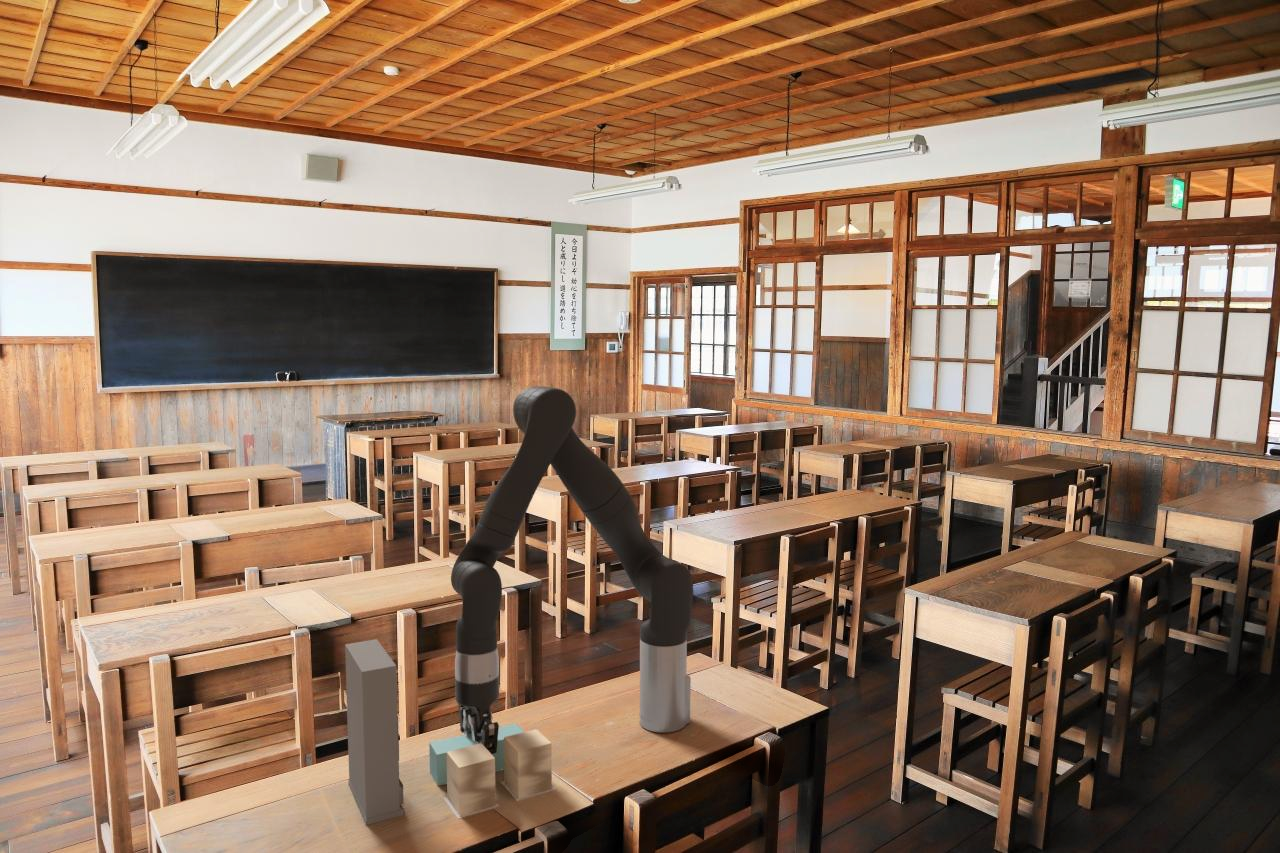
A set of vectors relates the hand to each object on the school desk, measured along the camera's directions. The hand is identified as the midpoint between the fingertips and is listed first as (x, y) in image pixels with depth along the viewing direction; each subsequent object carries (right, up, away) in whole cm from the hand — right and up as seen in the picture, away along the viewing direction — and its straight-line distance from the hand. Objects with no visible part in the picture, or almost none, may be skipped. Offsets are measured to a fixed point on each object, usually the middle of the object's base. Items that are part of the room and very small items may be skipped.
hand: (478, 766), depth 147 cm
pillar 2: (+10, -1, -6) cm, 11 cm away
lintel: (0, -1, 0) cm, 1 cm away
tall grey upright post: (-15, -2, -10) cm, 18 cm away
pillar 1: (+1, -1, -11) cm, 11 cm away
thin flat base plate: (+5, -2, -8) cm, 10 cm away
